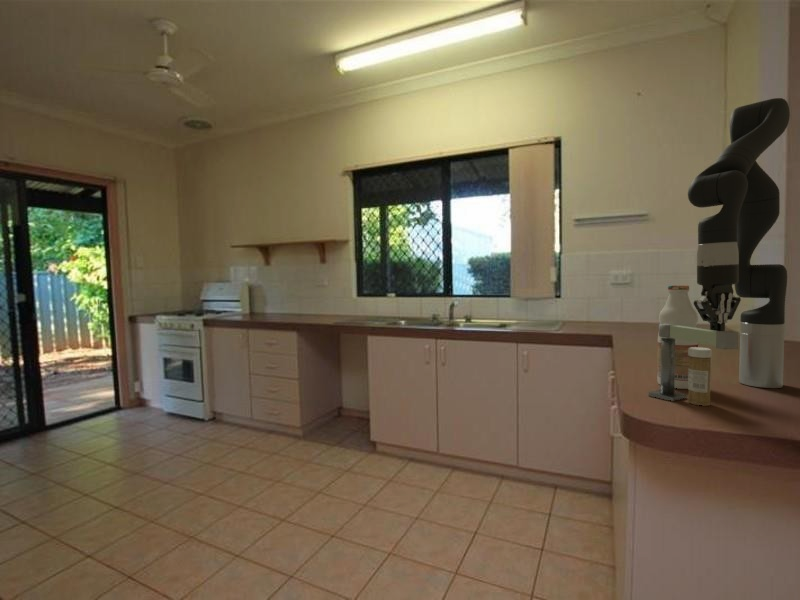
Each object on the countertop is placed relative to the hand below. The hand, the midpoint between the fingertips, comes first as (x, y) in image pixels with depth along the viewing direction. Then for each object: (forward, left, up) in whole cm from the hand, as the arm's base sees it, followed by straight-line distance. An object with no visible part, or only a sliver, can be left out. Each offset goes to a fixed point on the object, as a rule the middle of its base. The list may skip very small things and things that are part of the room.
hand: (717, 339), depth 96 cm
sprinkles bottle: (-1, -4, -16) cm, 17 cm away
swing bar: (+2, -4, -1) cm, 5 cm away
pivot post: (-1, -11, -16) cm, 20 cm away
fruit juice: (-15, -16, -16) cm, 27 cm away
